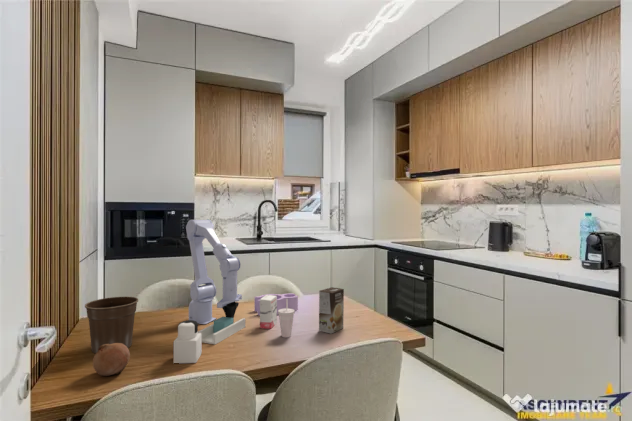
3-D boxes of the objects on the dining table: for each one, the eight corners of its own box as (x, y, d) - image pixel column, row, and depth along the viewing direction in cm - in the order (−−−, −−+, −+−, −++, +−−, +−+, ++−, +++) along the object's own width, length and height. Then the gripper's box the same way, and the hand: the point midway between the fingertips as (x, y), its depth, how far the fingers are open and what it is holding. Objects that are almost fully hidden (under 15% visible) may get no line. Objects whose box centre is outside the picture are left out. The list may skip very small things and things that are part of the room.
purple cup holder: (292, 305, 176) (292, 292, 176) (300, 312, 165) (300, 297, 165) (253, 309, 169) (253, 295, 169) (258, 317, 157) (258, 301, 157)
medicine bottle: (179, 354, 116) (179, 318, 116) (201, 353, 117) (201, 318, 117) (172, 364, 109) (173, 325, 109) (196, 363, 110) (196, 325, 110)
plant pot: (104, 338, 130) (104, 295, 130) (147, 339, 130) (147, 296, 130) (73, 357, 114) (72, 307, 114) (121, 357, 114) (121, 308, 114)
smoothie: (297, 333, 136) (297, 298, 136) (290, 339, 130) (290, 302, 130) (282, 331, 138) (282, 296, 138) (275, 337, 132) (275, 300, 132)
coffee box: (331, 334, 136) (332, 293, 135) (318, 330, 139) (318, 290, 139) (344, 327, 143) (344, 288, 143) (330, 324, 147) (331, 286, 147)
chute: (228, 324, 146) (228, 316, 146) (245, 326, 144) (245, 318, 144) (197, 341, 128) (197, 331, 128) (215, 344, 125) (215, 334, 125)
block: (222, 327, 140) (222, 316, 140) (233, 329, 138) (233, 317, 138) (213, 332, 134) (213, 321, 134) (224, 334, 133) (224, 322, 133)
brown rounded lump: (96, 387, 101) (78, 359, 99) (119, 364, 110) (102, 338, 108) (121, 379, 98) (103, 351, 96) (142, 357, 107) (126, 330, 105)
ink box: (270, 329, 141) (270, 300, 141) (259, 328, 142) (259, 299, 142) (277, 322, 149) (277, 295, 149) (266, 321, 150) (266, 294, 150)
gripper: (227, 292, 132) (227, 328, 132) (248, 284, 146) (248, 317, 146) (212, 290, 134) (212, 326, 134) (233, 283, 148) (233, 315, 148)
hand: (229, 321), depth 140 cm, fingers closed
